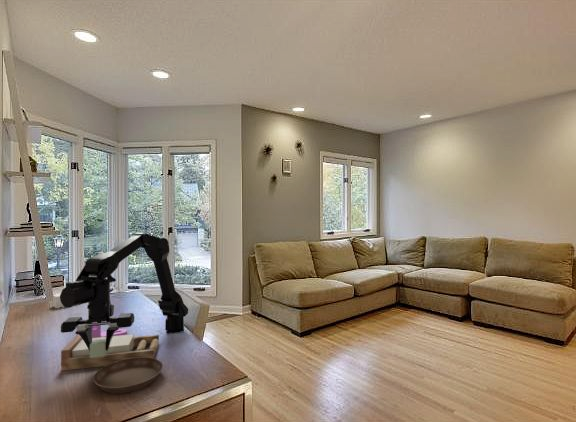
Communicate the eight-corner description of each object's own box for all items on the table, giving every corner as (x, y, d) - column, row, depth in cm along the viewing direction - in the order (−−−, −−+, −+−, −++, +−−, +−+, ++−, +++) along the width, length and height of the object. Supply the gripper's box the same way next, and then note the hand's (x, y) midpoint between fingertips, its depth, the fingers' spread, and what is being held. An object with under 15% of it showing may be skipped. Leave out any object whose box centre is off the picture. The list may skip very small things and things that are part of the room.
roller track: (159, 343, 121) (159, 326, 121) (154, 360, 107) (154, 341, 107) (77, 351, 114) (77, 334, 114) (61, 370, 100) (61, 350, 100)
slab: (133, 341, 117) (133, 334, 117) (128, 352, 107) (128, 344, 107) (82, 346, 112) (82, 339, 112) (72, 358, 103) (72, 350, 103)
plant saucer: (174, 379, 95) (174, 368, 95) (108, 406, 82) (108, 393, 82) (145, 361, 107) (145, 352, 107) (83, 382, 93) (83, 372, 93)
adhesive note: (52, 306, 171) (52, 294, 171) (66, 304, 175) (66, 292, 175) (55, 308, 167) (56, 296, 167) (69, 306, 171) (69, 294, 171)
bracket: (89, 342, 122) (89, 323, 122) (88, 338, 127) (88, 319, 127) (128, 335, 129) (128, 317, 130) (126, 331, 134) (126, 314, 134)
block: (108, 351, 103) (108, 338, 103) (104, 356, 99) (104, 342, 99) (93, 352, 102) (93, 339, 102) (89, 357, 98) (89, 344, 98)
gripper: (137, 291, 111) (137, 338, 111) (73, 294, 106) (73, 344, 106) (130, 299, 100) (130, 351, 100) (59, 304, 95) (59, 358, 95)
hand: (99, 350), depth 101 cm, fingers closed on block, 4 cm apart
